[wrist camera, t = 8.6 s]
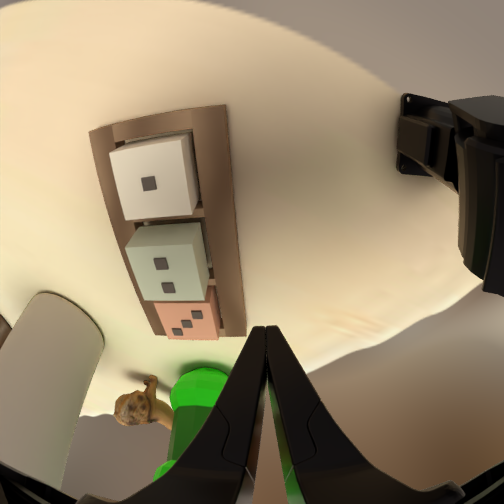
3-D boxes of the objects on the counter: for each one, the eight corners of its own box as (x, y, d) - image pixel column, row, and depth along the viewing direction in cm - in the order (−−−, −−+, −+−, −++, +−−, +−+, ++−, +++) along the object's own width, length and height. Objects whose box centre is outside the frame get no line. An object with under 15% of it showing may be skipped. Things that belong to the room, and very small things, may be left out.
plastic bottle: (170, 351, 32) (138, 541, 11) (253, 363, 33) (252, 555, 12) (174, 385, 37) (152, 533, 16) (241, 395, 38) (237, 544, 17)
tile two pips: (199, 222, 20) (191, 245, 17) (209, 275, 23) (204, 302, 20) (139, 226, 20) (123, 249, 17) (154, 276, 23) (143, 302, 20)
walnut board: (225, 104, 16) (223, 105, 15) (246, 325, 28) (246, 336, 27) (98, 128, 17) (88, 131, 15) (158, 325, 29) (155, 335, 27)
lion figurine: (120, 373, 36) (105, 421, 29) (132, 363, 34) (116, 416, 27) (194, 407, 42) (189, 451, 34) (212, 400, 40) (207, 448, 32)
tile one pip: (191, 132, 17) (179, 140, 15) (200, 196, 20) (191, 215, 17) (127, 142, 17) (107, 153, 15) (140, 202, 20) (124, 221, 18)
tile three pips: (213, 279, 24) (209, 304, 22) (220, 317, 27) (218, 341, 25) (162, 280, 25) (153, 304, 22) (174, 317, 27) (168, 340, 25)
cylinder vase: (111, 360, 34) (71, 509, 14) (46, 336, 32) (-5, 464, 12) (98, 306, 27) (28, 505, 7) (23, 279, 26) (-59, 433, 5)
